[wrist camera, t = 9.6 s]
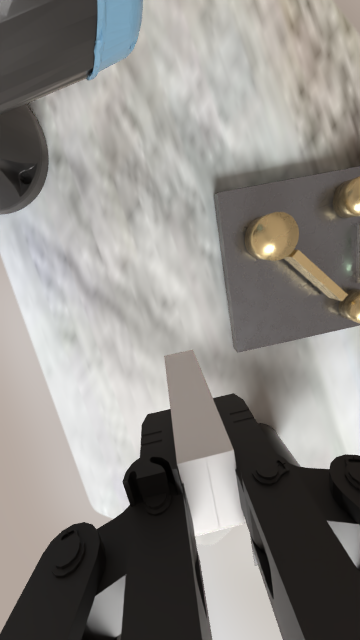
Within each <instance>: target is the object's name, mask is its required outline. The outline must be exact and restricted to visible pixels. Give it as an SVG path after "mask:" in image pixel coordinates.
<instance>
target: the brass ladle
mask: <svg viewBox="0 0 360 640" xmlns="http://www.w3.org/2000/svg"><path fill="white" fill-rule="evenodd" d="M298 239H299V228H298V225H297V223H296V221H295V219H294V218H293V217H292V216H291V215H289V214H287V213H284V212H274V213H271V214H267V215H264V216H261V217H258V218H256V219H255V220H254V221H252V222H251V224H250V225H249V226H248V228H247V230H246V233H245V246H246V248H247V250H248V252H249V253H250V254H251V255H252V256H253V257H255V258H257V259H262V260H273V261H276V260H281V259H285V260H286V261H288V262H289V263H290V264H291V265H292V266H293V267H294V268H296V269H297V270H298V271H299V272H300V273H301V274H302V275H304V276H305V277H306V278H307V279H308V280H309V281H310V282H311V283H313V284H314V285H315V286H316V287H317V288H318V289H319V290H321V291H322V292H323V293H324V294H325V295H326V296H327V297H329V298H332V299H335V300H339V301H343V300H344V299H345V297H346V296H347V295H348V294H347V293H346V292H344V291H343V290H342V289H341V288H340V287H339V286H338V285H337V284H336V283H335V282H333V281H332V280H331V279H330V278H329V277H328V276H327V275H326V274H325V273H324V272H322V271H321V270H320V269H319V268H318V267H317V266H316V265H315V264H314V263H313V262H311V261H310V260H309V259H308V258H307V257H306V256H305V255H304V254H303V253H302V252H300V251H299V250H294V249H295V247H296V245H297V243H298Z"/></svg>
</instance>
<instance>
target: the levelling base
mask: <svg viewBox="0 0 360 640" xmlns="http://www.w3.org/2000/svg"><path fill="white" fill-rule="evenodd" d="M214 201H215V209H216V217H217V224H218V232H219V239H220V247H221V255H222V262H223V270H224V277H225V285H226V293H227V300H228V308H229V315H230V323H231V331H232V338H233V346H234V349H235V350H236V351H237V352H242V351H247V350H251V349H256V348H260V347H265V346H269V345H274V344H278V343H283V342H287V341H292V340H296V339H301V338H305V337H310V336H314V335H319V334H323V333H328V332H332V331H337V330H341V329H346V328H350V327H355V326H359V325H360V166H358V167H353V168H347V169H342V170H337V171H331V172H326V173H321V174H315V175H310V176H305V177H299V178H294V179H288V180H283V181H278V182H272V183H267V184H262V185H256V186H251V187H246V188H240V189H235V190H229V191H224V192H219V193H216V194H215V195H214ZM274 212H284V213H287V214H289V215H291V216H292V217H293V218H294V219H295V221H296V223H297V225H298V228H299V239H298V243H297V245H296V247H295V249H294V250H299V251H300V252H302V253H303V254H304V255H305V256H306V257H307V258H308V259H309V260H310V261H311V262H313V263H314V264H315V265H316V266H317V267H318V268H319V269H320V270H321V271H322V272H324V273H325V274H326V275H327V276H328V277H329V278H330V279H331V280H332V281H333V282H335V283H336V284H337V285H338V286H339V287H340V288H341V289H342V290H343V291H344V292H346V293H347V294H348V295H347V296H346V297H345V299H344V300H343V301H339V300H335V299H332V298H329V297H327V296H326V295H325V294H324V293H323V292H322V291H321V290H319V289H318V288H317V287H316V286H315V285H314V284H313V283H311V282H310V281H309V280H308V279H307V278H306V277H305V276H304V275H302V274H301V273H300V272H299V271H298V270H297V269H296V268H294V267H293V266H292V265H291V264H290V263H289V262H288V261H286V260H285V259H281V260H276V261H273V260H262V259H257V258H255V257H253V256H252V255H251V254H250V253H249V252H248V250H247V248H246V246H245V233H246V230H247V228H248V226H249V225H250V224H251V222H252V221H254V220H255V219H256V218H258V217H261V216H264V215H267V214H271V213H274Z"/></svg>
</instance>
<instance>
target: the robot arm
mask: <svg viewBox="0 0 360 640" xmlns="http://www.w3.org/2000/svg"><path fill="white" fill-rule="evenodd" d="M142 10H143V0H0V214H8V213H12V212H16V211H18V210H20V209H22V208H24V207H26V206H27V205H28V204H30V203H31V202H32V201H33V200H34V199H35V198H36V197H37V195H38V194H39V193H40V191H41V189H42V187H43V185H44V183H45V180H46V176H47V171H48V150H47V145H46V141H45V137H44V134H43V132H42V129H41V127H40V125H39V123H38V121H37V119H36V117H35V116H34V114H33V113H32V111H31V110H30V108H29V107H28V106H27V105H26V104H27V103H29V102H31V101H34V100H36V99H38V98H41V97H43V96H46V95H48V94H50V93H53V92H55V91H57V90H60V89H62V88H65V87H67V86H69V85H72V84H74V83H76V82H79V81H81V80H83V79H87V80H91V79H94V78H95V77H96V76H97V74H98V72H99V71H101V70H103V69H105V68H107V67H109V66H111V65H113V64H115V63H116V62H118V61H120V60H122V59H124V58H126V57H127V56H128V55H129V54H130V53H131V52H132V50H133V49H134V46H135V44H136V41H137V39H138V35H139V31H140V26H141V21H142ZM164 357H165V366H166V374H167V383H168V391H169V400H170V408H171V409H169V410H164V411H160V412H156V413H151V414H148V415H147V416H146V418H145V420H144V422H143V424H142V432H141V436H142V438H141V450H140V458H139V459H138V460H136V461H135V462H134V463H132V465H131V466H130V467H129V469H128V470H127V471H126V473H125V476H124V479H123V485H124V488H125V491H126V494H127V497H128V500H129V502H130V505H129V507H128V508H127V509H126V510H125V511H124V512H123V513H121V514H120V515H119V516H117V517H116V518H115V519H113V520H111V521H110V522H108V523H106V524H105V525H103V526H101V527H100V528H98V529H96V528H95V527H94V526H93V525H92V524H88V523H85V522H83V523H78V524H74V525H72V526H70V527H68V528H67V529H65V530H63V531H62V532H61V533H60V534H59V535H58V536H57V537H56V538H54V539H53V540H52V541H51V543H50V544H49V546H48V547H47V549H46V550H45V552H44V553H43V554H42V556H41V558H40V560H39V562H38V564H37V566H36V568H35V570H34V571H33V573H32V575H31V577H30V579H29V581H28V583H27V584H26V586H25V588H24V590H23V592H22V594H21V596H20V598H19V599H18V601H17V603H16V605H15V607H14V609H13V611H12V613H11V614H10V616H9V618H8V620H7V622H6V624H5V626H4V628H3V630H2V632H1V634H0V640H212V636H211V629H210V623H209V617H208V610H207V604H206V597H205V591H204V584H203V578H202V571H201V565H200V560H199V556H198V552H197V548H196V540H195V536H199V535H203V534H207V533H210V532H214V531H218V530H222V529H226V528H230V527H233V526H237V525H241V524H244V523H245V520H246V523H247V526H248V529H249V532H250V536H251V543H252V550H253V557H254V563H255V566H257V565H258V566H259V569H260V572H261V575H262V578H263V581H264V584H265V587H266V590H267V593H268V596H269V599H270V602H271V605H272V608H273V611H274V614H275V617H276V620H277V623H278V626H279V629H280V632H281V635H282V638H283V640H360V456H358V455H342V456H339V457H336V458H335V459H334V460H333V461H332V462H331V464H330V469H315V468H304V467H299V466H296V465H293V464H290V463H288V461H287V460H286V459H285V458H283V457H281V456H280V455H278V454H277V453H276V452H275V451H274V450H273V448H272V446H271V445H270V443H269V441H268V440H267V438H266V436H265V435H264V433H263V432H262V430H261V428H260V427H259V425H258V423H257V422H256V420H255V419H254V417H253V415H252V413H251V412H250V411H249V408H248V407H247V405H246V403H245V402H244V400H243V399H241V398H240V397H238V396H237V395H235V394H229V395H225V396H221V397H216V398H212V395H211V393H210V390H209V388H208V385H207V383H206V381H205V378H204V376H203V373H202V371H201V368H200V366H199V363H198V361H197V358H196V356H195V354H194V351H193V350H189V351H185V352H180V353H175V354H171V355H166V356H164ZM244 517H245V520H244Z"/></svg>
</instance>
